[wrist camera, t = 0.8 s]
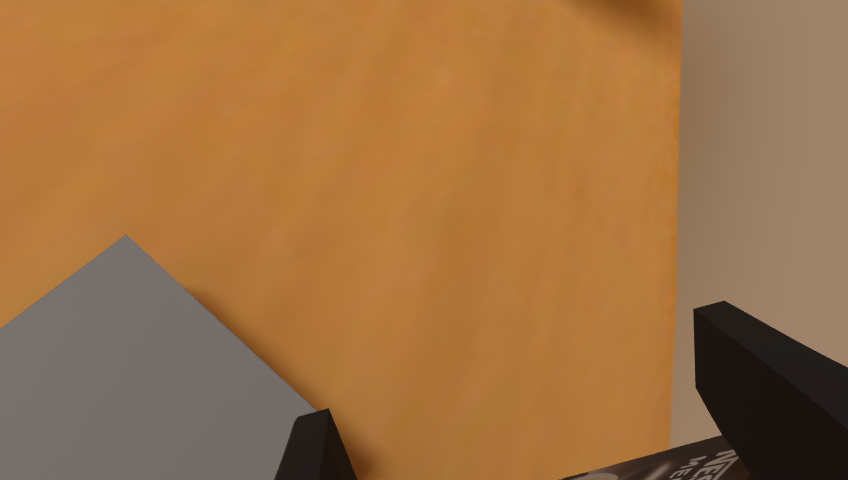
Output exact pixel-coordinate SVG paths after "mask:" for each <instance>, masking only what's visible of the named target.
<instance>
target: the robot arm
mask: <svg viewBox="0 0 848 480" xmlns="http://www.w3.org/2000/svg"><path fill="white" fill-rule="evenodd" d="M693 310H694V344H695V345H694V347H695V382H696V389H697V391H698V393H699V394H700V396H701V398H702V400H703V402H704V404H705V405H706V407H707V409H708V411H709V413H710V415H711V416H712V418H713V420H714V421H715V423H716V425H717V427H718V428H719V430H720V432H721V433H722V435H723V436H724V438H725V439H726V440H727V442H728V443H729V445H730V446H731V447H732V449H733V450H734V451H735V453H736V454H737V456H738V457H739V458H740V460H741V461H742V462H743V464H744V465H745V466H746V468H747V469H748V470H749V472H750V473H751V475H752V476H753V477H754V479H755V480H848V368H847V367H846V366H843V365H842V364H840V363H837V362H836V361H833V360H832V359H830V358H828V357H826V356H824V355H822V354H820V353H818V352H816V351H814V350H812V349H811V348H809V347H807V346H805V345H803V344H801V343H799V342H797V341H796V340H794V339H792V338H790V337H788V336H787V335H785V334H783V333H781V332H779V331H778V330H776V329H774V328H772V327H770V326H769V325H767V324H765V323H763V322H761V321H760V320H758V319H756V318H754V317H753V316H751V315H749V314H747V313H746V312H744V311H742V310H740V309H739V308H737V307H735V306H733V305H731V304H729V303H728V302H726V301H722V302H718V303H714V304H710V305H707V306H703V307H699V308H696V309H693ZM274 480H357V478H356V475H355V473H354V470H353V468H352V465H351V463H350V460H349V458H348V455H347V453H346V450H345V448H344V445H343V443H342V440H341V438H340V435H339V433H338V430H337V428H336V425H335V423H334V420H333V418H332V415H331V413H330V410H329V408H328V409H324V410H321V411H317V412H313V413H310V414H306V415H302V416H299V417H297V419H296V420H295V422H294V424H293V427H292V430H291V433H290V436H289V439H288V442H287V445H286V448H285V451H284V454H283V457H282V460H281V462H280V465H279V468H278V470H277V473H276V476H275V478H274Z"/></svg>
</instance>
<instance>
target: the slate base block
mask: <svg viewBox="0 0 848 480" xmlns="http://www.w3.org/2000/svg"><path fill="white" fill-rule="evenodd" d="M313 412H317V411H316V410H315V409H314V408H313V407H312V406H311V405H310V404H309V403H308V402H307V401H306V400H304V399H303V398H302V397H301V396H300V395H299V394H298V393H297V392H296V391H295V390H294V389H293V388H291V387H290V386H289V385H288V384H287V383H286V382H285V381H284V380H283V379H282V378H281V377H280V376H278V375H277V374H276V373H275V372H274V371H273V370H272V369H271V368H270V367H269V366H268V365H267V364H266V363H264V362H263V361H262V360H261V359H260V358H259V357H258V356H257V355H256V354H255V353H254V352H253V351H251V350H250V349H249V348H248V347H247V346H246V345H245V344H244V343H243V342H242V341H241V340H240V339H238V338H237V337H236V336H235V335H234V334H233V333H232V332H231V331H230V330H229V329H228V328H227V327H225V326H224V325H223V324H222V323H221V322H220V321H219V320H218V319H217V318H216V317H215V316H214V315H213V314H211V313H210V312H209V311H208V310H207V309H206V308H205V307H204V306H203V305H202V304H201V303H200V302H198V301H197V300H196V299H195V298H194V297H193V296H192V295H191V294H190V293H189V292H188V291H187V290H185V289H184V288H183V287H182V286H181V285H180V284H179V283H178V282H177V281H176V280H175V279H174V278H173V277H171V276H170V275H169V274H168V273H167V272H166V271H165V270H164V269H163V268H162V267H161V266H160V265H158V264H157V263H156V262H155V261H154V260H153V259H152V258H151V257H150V256H149V255H148V254H147V253H145V252H144V251H143V250H142V249H141V248H140V247H139V246H138V245H137V244H136V243H135V242H134V241H132V240H131V239H130V238H129V237H128V236H127V235H125V236H123V237H122V238H121V239H119V240H118V241H117V242H115V243H114V244H113V245H111V246H110V247H109V248H107V249H106V250H105V251H103V252H102V253H101V254H99V255H98V256H97V257H95V258H94V259H93V260H91V261H90V262H89V263H87V264H86V265H85V266H83V267H82V268H81V269H79V270H78V271H77V272H75V273H74V274H73V275H71V276H70V277H69V278H67V279H66V280H65V281H63V282H62V283H61V284H59V285H58V286H56V287H55V288H54V289H52V290H51V291H50V292H48V293H47V294H46V295H44V296H43V297H42V298H40V299H39V300H38V301H36V302H35V303H34V304H32V305H31V306H30V307H28V308H27V309H26V310H24V311H23V312H22V313H20V314H19V315H18V316H16V317H15V318H14V319H12V320H11V321H10V322H8V323H7V324H6V325H4V326H3V327H2V328H0V480H274V478H275V476H276V473H277V470H278V468H279V465H280V462H281V460H282V457H283V454H284V451H285V448H286V445H287V442H288V439H289V436H290V433H291V430H292V427H293V424H294V422H295V420H296V419H297V417H299V416H302V415H306V414H310V413H313Z"/></svg>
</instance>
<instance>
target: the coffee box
mask: <svg viewBox="0 0 848 480" xmlns="http://www.w3.org/2000/svg"><path fill="white" fill-rule="evenodd" d="M559 480H755V479H754V477H753V476H752V475H751V473H750V472H749V470H748V469H747V468H746V466H745V465H744V464H743V462H742V461H741V460H740V458H739V457H738V456H737V454H736V453H735V451H734V450H733V449H732V447H731V446H730V445H729V443H728V442H727V440H726V439H725V438H724V436H723V435H721V436H717V437H713V438H710V439H706V440H703V441H699V442H695V443H691V444H687V445H684V446H680V447H677V448H673V449H669V450H666V451H663V452H659V453H656V454H652V455H649V456H645V457H641V458H637V459H633V460H630V461H626V462H622V463H619V464H615V465H612V466H608V467H604V468H600V469H597V470H593V471H589V472H586V473H582V474H578V475H575V476H570V477H566V478H562V479H559Z"/></svg>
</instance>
